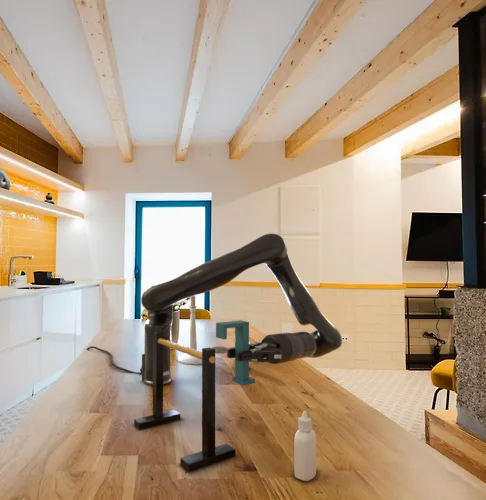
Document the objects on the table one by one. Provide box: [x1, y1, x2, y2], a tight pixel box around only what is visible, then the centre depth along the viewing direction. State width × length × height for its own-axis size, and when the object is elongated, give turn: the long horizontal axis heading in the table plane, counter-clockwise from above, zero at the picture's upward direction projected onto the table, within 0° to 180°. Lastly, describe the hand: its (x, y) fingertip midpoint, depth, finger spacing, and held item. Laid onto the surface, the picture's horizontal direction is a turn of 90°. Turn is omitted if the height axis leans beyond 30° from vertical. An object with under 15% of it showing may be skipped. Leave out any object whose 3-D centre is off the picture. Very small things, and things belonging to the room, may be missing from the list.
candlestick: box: [177, 295, 202, 365], centre depth 160 cm, size 13×13×30 cm
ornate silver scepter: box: [212, 341, 252, 355], centre depth 160 cm, size 8×35×8 cm
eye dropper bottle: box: [293, 410, 317, 482], centre depth 73 cm, size 4×6×12 cm
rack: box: [133, 331, 237, 473], centre depth 88 cm, size 12×25×23 cm, turn 31°
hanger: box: [215, 320, 256, 386], centre depth 92 cm, size 10×4×15 cm, turn 121°
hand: (233, 355), depth 92 cm, fingers closed on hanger, 3 cm apart
